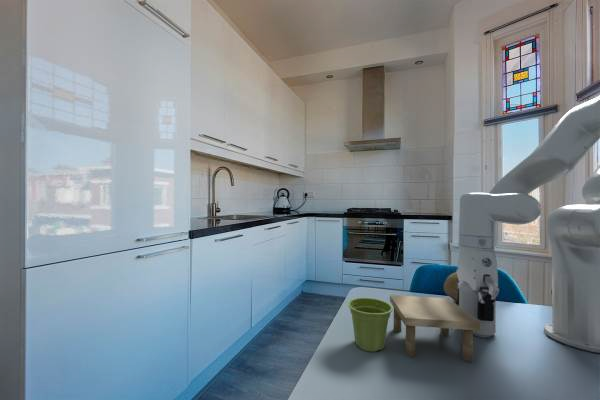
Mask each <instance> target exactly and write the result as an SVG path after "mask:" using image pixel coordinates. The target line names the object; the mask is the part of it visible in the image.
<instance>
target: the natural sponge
mask: <svg viewBox="0 0 600 400" xmlns="http://www.w3.org/2000/svg"><path fill="white" fill-rule="evenodd" d="M457 284H458V281H457V272H456V271H455V272H453V273H451V274H449V275H448V276H447V277H446V279H445V282H444V283H443V291H444V294H446V295H447V296H448V297H449V298H451V299H452V301H453V302H455V303H457V304H458V287H457Z"/></svg>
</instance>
